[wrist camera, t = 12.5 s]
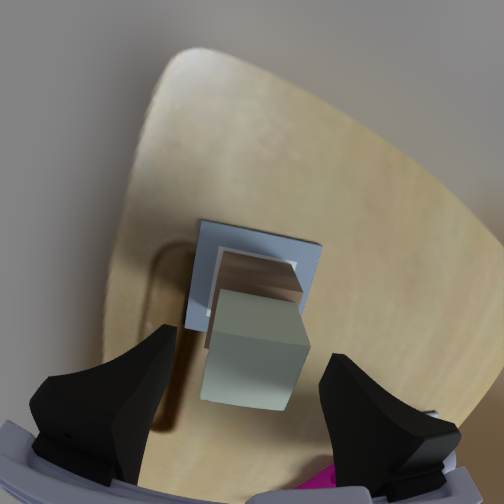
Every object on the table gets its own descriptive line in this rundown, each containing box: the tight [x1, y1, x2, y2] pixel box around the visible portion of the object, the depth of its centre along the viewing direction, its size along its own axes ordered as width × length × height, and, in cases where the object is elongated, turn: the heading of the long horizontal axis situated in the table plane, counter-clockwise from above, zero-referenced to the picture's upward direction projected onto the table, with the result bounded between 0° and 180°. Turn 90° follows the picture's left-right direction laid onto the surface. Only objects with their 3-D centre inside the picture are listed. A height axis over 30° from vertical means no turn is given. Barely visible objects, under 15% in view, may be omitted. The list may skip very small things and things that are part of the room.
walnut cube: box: [204, 251, 303, 349], centre depth 18 cm, size 4×4×4 cm
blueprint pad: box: [185, 220, 323, 332], centre depth 20 cm, size 8×8×1 cm
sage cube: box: [200, 289, 311, 411], centre depth 14 cm, size 4×4×4 cm
